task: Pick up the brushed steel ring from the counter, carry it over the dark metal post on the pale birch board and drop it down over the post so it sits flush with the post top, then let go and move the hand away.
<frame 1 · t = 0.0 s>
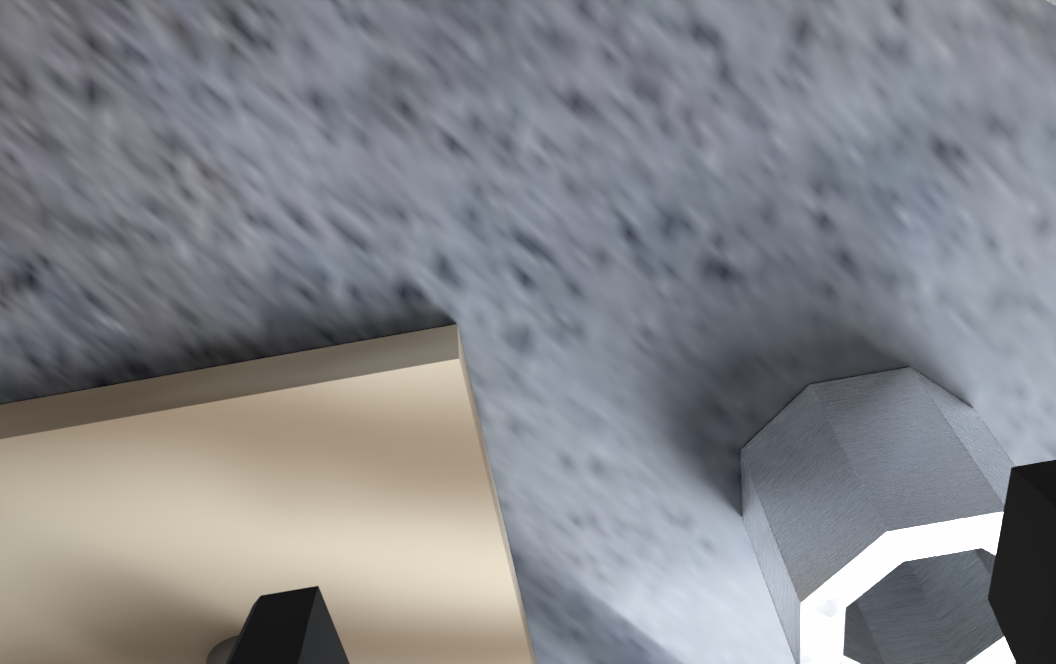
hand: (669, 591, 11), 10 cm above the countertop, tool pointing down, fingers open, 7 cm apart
steel ring: (855, 465, 24), on the countertop
post board: (263, 625, 25), on the countertop
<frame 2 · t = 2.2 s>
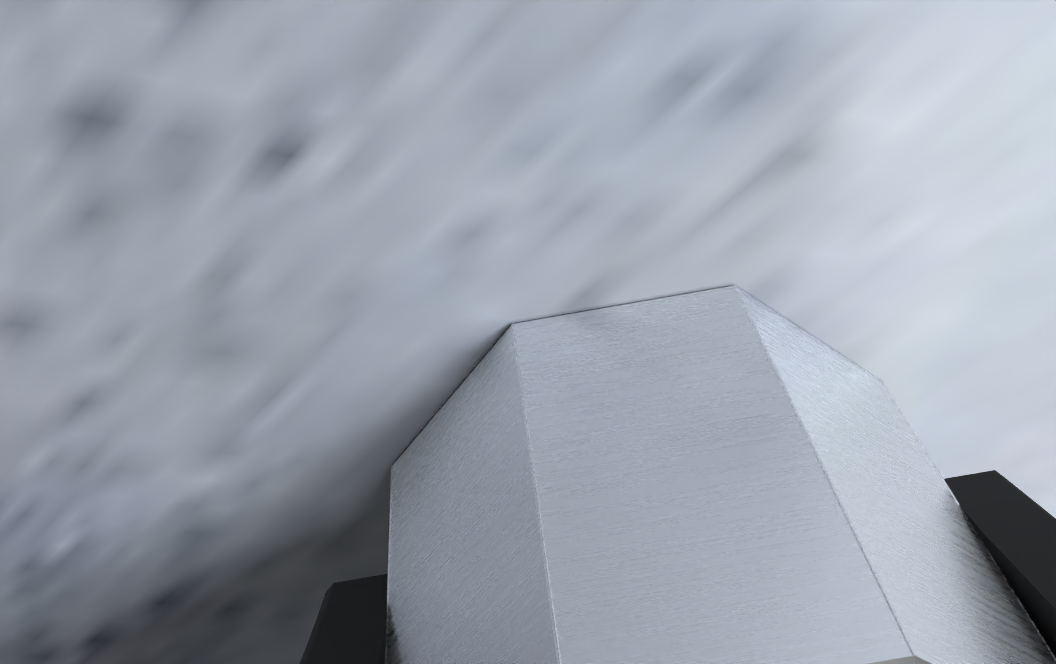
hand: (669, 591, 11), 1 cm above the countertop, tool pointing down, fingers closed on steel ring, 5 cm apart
steel ring: (644, 497, 12), on the countertop, touching gripper
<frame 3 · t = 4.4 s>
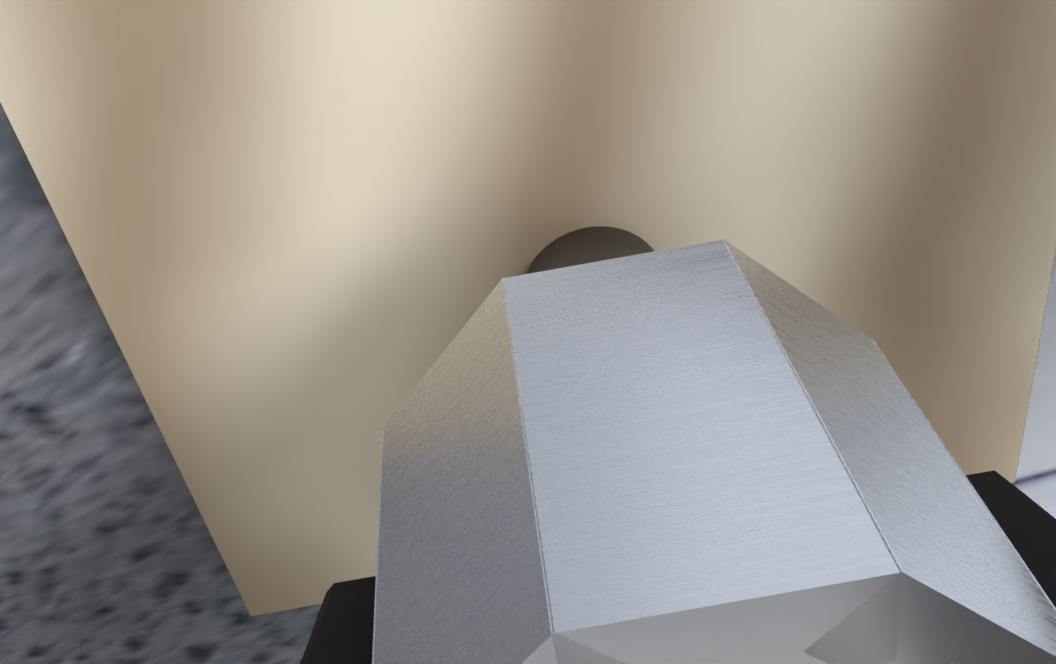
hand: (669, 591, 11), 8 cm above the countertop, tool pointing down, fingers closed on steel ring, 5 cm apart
steel ring: (636, 460, 12), point 7 cm above the countertop, touching gripper
post board: (584, 253, 18), on the countertop
when the fingers open (4 cm above the countertop, at t = 6.7 s): steel ring drops 2 cm, resting on post board.
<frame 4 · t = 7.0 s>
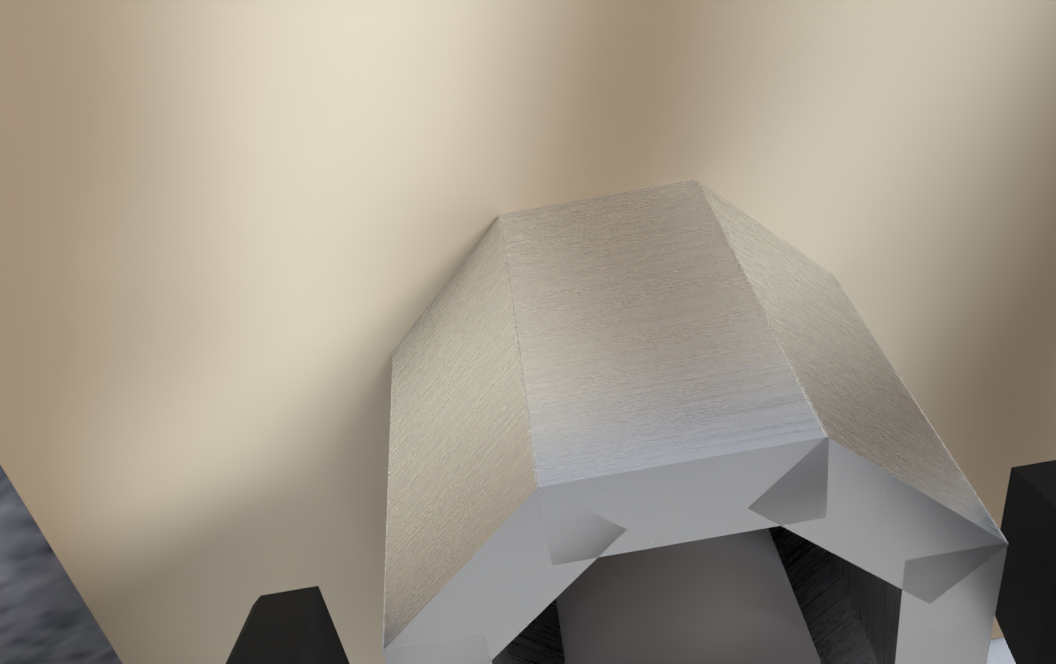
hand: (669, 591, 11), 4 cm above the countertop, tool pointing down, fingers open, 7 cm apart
steel ring: (620, 383, 13), point 1 cm above the countertop, touching post board
post board: (605, 348, 14), on the countertop
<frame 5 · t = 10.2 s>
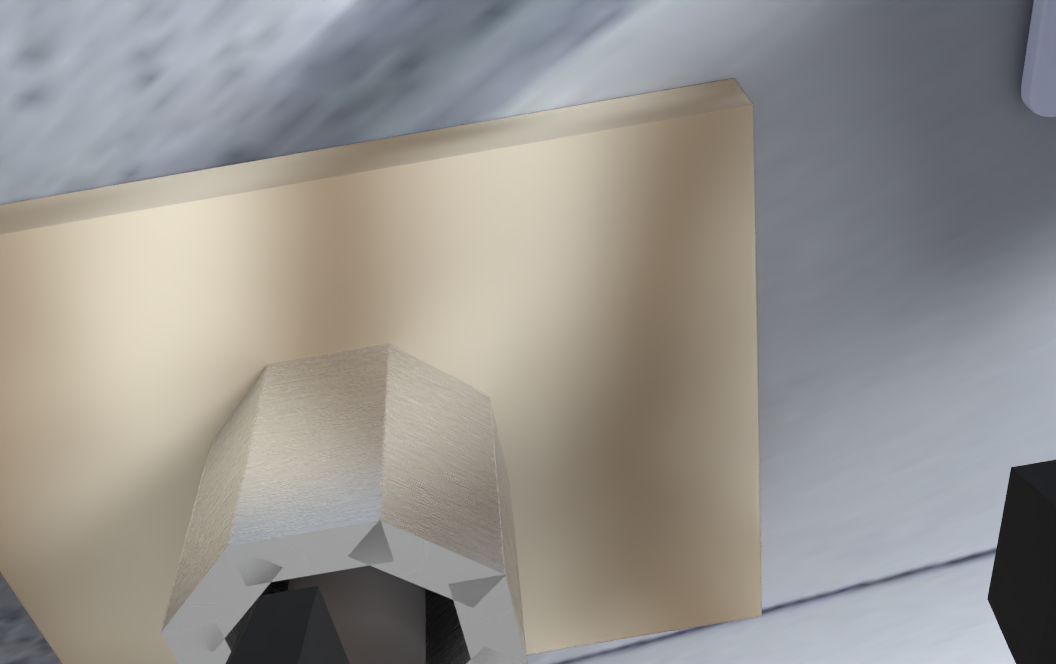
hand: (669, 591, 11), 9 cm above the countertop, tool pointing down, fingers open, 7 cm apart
steel ring: (364, 462, 20), point 1 cm above the countertop, touching post board
post board: (368, 434, 21), on the countertop
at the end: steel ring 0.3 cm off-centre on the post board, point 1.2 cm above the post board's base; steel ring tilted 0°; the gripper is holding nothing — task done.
